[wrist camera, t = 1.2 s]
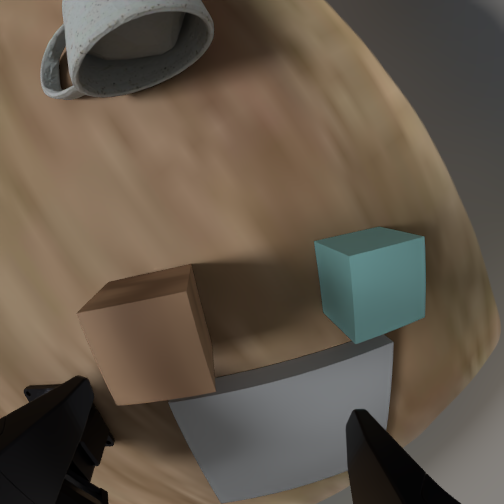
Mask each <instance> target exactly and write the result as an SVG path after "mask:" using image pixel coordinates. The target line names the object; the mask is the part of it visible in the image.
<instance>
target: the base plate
mask: <svg viewBox="0 0 504 504" xmlns="http://www.w3.org/2000/svg"><path fill="white" fill-rule="evenodd" d="M392 365H393V341H392V340H390V339H389V338H388V337H387V336H385V335H384V334H382V335H380V336H377V337H374V338H372V339H369V340H366V341H364V342H361V343H358V344H355V343H354V342H353V341H351V342H348V343H345V344H342V345H339V346H336V347H333V348H329V349H326V350H323V351H320V352H317V353H313V354H310V355H307V356H303V357H300V358H296V359H293V360H289V361H285V362H282V363H278V364H274V365H270V366H266V367H262V368H258V369H254V370H250V371H245V372H241V373H237V374H232V375H227V376H223V377H218V378H215V386H216V392H213V393H207V394H202V395H196V396H190V397H184V398H178V399H171V400H169V401H168V404H169V406H170V408H171V410H172V412H173V415H174V417H175V419H176V421H177V423H178V425H179V427H180V429H181V431H182V434H183V436H184V438H185V440H186V442H187V444H188V445H189V447H190V449H191V451H192V453H193V455H194V457H195V459H196V461H197V463H198V464H199V466H200V468H201V470H202V472H203V473H204V475H205V477H206V479H207V480H208V482H209V484H210V486H211V487H212V489H213V491H214V492H215V494H216V496H217V497H218V499H219V501H220V502H221V503H227V502H233V501H239V500H245V499H250V498H255V497H260V496H265V495H269V494H274V493H278V492H282V491H286V490H289V489H293V488H297V487H300V486H304V485H307V484H310V483H313V482H317V481H320V480H323V479H326V478H329V477H331V476H334V475H337V474H340V473H342V472H345V471H348V467H347V446H346V424H347V421H348V419H349V417H350V415H351V413H352V411H353V410H354V409H366V410H367V411H368V412H369V413H370V414H371V415H372V416H373V417H374V418H375V420H376V421H377V422H378V423H379V424H380V425H381V426H382V427H383V428H384V429H385V430H386V428H387V420H388V412H389V403H390V393H391V381H392Z"/></svg>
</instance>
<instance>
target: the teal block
mask: <svg viewBox="0 0 504 504" xmlns="http://www.w3.org/2000/svg"><path fill="white" fill-rule="evenodd" d="M314 245H315V252H316V259H317V266H318V273H319V281H320V289H321V297H322V306H323V313H324V314H325V315H326V316H327V317H328V318H329V319H330V320H331V321H332V322H333V323H334V324H335V325H336V326H338V327H339V328H340V329H341V330H342V331H343V332H344V333H345V334H346V335H347V336H348V337H349V338H350V339H351V340H352V341H353V342H354V343H355V344H358V343H361V342H364V341H366V340H369V339H372V338H374V337H377V336H380V335H382V334H385V333H388V332H390V331H393V330H395V329H398V328H400V327H403V326H405V325H407V324H410V323H412V322H415V321H417V320H419V319H422V318H424V317H425V297H426V265H425V239H424V236H420V235H415V234H411V233H406V232H402V231H397V230H393V229H388V228H383V227H375V228H371V229H366V230H362V231H357V232H353V233H349V234H344V235H340V236H335V237H331V238H326V239H322V240H317V241H314Z"/></svg>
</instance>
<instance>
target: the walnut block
mask: <svg viewBox="0 0 504 504" xmlns="http://www.w3.org/2000/svg"><path fill="white" fill-rule="evenodd" d="M77 316H78V318H79V321H80V324H81V326H82V329H83V332H84V334H85V337H86V339H87V342H88V344H89V347H90V349H91V352H92V354H93V356H94V359H95V361H96V363H97V365H98V368H99V370H100V372H101V374H102V376H103V378H104V381H105V383H106V385H107V387H108V389H109V391H110V393H111V395H112V397H113V399H114V401H115V403H116V404H117V406H120V405H131V404H141V403H149V402H157V401H164V400H171V399H178V398H184V397H190V396H196V395H202V394H207V393H213V392H216V386H215V375H214V363H213V351H212V342H211V338H210V335H209V331H208V328H207V324H206V320H205V316H204V313H203V309H202V305H201V301H200V297H199V293H198V289H197V285H196V281H195V277H194V273H193V269H192V265H191V264H189V265H184V266H180V267H175V268H170V269H166V270H161V271H157V272H152V273H148V274H143V275H138V276H134V277H129V278H125V279H120V280H116V281H111V282H108V283H107V284H106V285H105V286H104V287H103V288H102V289H101V290H100V291H99V292H98V293H97V294H96V295H95V296H94V297H93V298H92V299H91V300H89V301H88V302H87V303H86V304H85V305H84V306H83V307H82V308H81V309H80V310H79V311H78V312H77Z"/></svg>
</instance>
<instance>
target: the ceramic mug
mask: <svg viewBox="0 0 504 504" xmlns="http://www.w3.org/2000/svg"><path fill="white" fill-rule="evenodd" d="M62 13H63V20H64V24H63V25H62V26H61V27H60V28H59V29H58V30H57V31H56V33H55V34H54V36H53V37H52V39H51V40H50V41H49V43H48V45H47V48H46V50H45V53H44V56H43V59H42V64H41V74H40V76H41V85H42V89H43V91H44V93H45V94H46V95H47V96H49V97H51V98H55V99H63V100H72V99H77V98H79V97H81V96H83V95H88V96H92V97H102V98H103V97H115V96H120V95H126V94H131V93H134V92H137V91H140V90H143V89H146V88H149V87H152V86H154V85H156V84H159V83H161V82H163V81H165V80H167V79H170V78H171V77H173V76H175V75H177V74H179V73H181V72H182V71H184V70H185V69H186V68H187V67H189V66H190V65H192V64H193V63H195V62H196V61H197V60H198V59H199V58H200V57H201V56H202V55H203V54H204V53H205V51H206V50H207V49H208V48H209V46H210V44H211V42H212V39H213V36H214V23H213V20H212V18H211V16H210V14H209V13H208V11H207V10H206V8H205V6H204V4H203V3H202V1H201V0H63V2H62ZM65 46H66V50H67V59H68V67H69V73H70V77H71V80H72V84H73V86H71V87H69V88H67V89H65V90H62V89H61V85H60V79H59V60H60V56H61V54H62V52H63V50H64V48H65Z"/></svg>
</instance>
